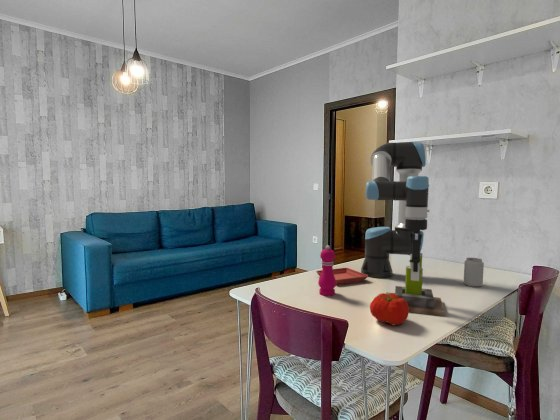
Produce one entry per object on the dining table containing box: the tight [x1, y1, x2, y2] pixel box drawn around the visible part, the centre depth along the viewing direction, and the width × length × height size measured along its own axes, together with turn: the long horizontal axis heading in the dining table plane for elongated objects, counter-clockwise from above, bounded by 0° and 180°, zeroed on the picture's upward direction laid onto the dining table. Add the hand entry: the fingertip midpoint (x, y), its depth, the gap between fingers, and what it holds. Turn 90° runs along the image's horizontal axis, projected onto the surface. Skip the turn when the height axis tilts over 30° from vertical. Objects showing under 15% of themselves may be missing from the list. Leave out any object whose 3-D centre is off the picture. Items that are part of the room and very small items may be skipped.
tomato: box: [369, 292, 410, 326], centre depth 118 cm, size 13×12×8 cm
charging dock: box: [385, 285, 446, 317], centre depth 133 cm, size 20×16×5 cm
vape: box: [404, 252, 424, 295], centre depth 133 cm, size 4×6×20 cm, turn 44°
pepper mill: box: [317, 244, 337, 297], centre depth 146 cm, size 7×7×20 cm
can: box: [463, 257, 485, 288], centre depth 160 cm, size 8×8×12 cm
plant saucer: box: [315, 267, 368, 286], centre depth 169 cm, size 18×18×3 cm
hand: (414, 275), depth 133 cm, fingers open, 13 cm apart
